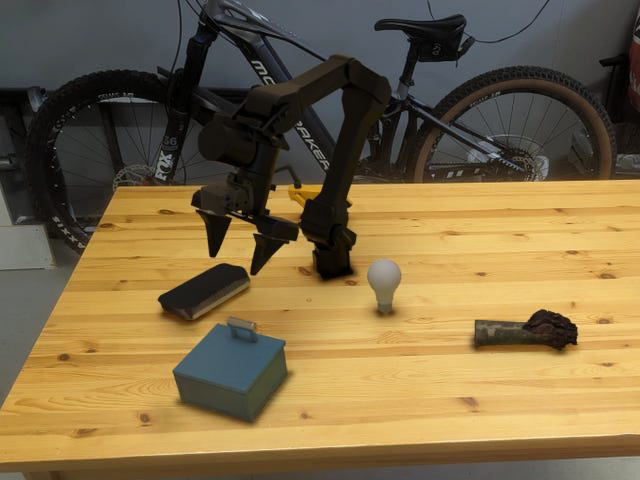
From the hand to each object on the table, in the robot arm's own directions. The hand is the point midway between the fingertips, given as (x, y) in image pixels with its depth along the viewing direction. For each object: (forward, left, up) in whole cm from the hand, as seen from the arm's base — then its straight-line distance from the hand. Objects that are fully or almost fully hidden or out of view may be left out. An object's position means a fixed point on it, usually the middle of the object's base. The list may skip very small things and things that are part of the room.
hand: (232, 266), depth 108 cm
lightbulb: (-25, +4, -14) cm, 29 cm away
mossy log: (-44, +22, -14) cm, 51 cm away
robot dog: (-23, -33, -14) cm, 43 cm away
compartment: (+5, +13, -14) cm, 20 cm away
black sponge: (+4, -13, -14) cm, 20 cm away
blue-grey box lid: (+4, +13, -8) cm, 16 cm away
